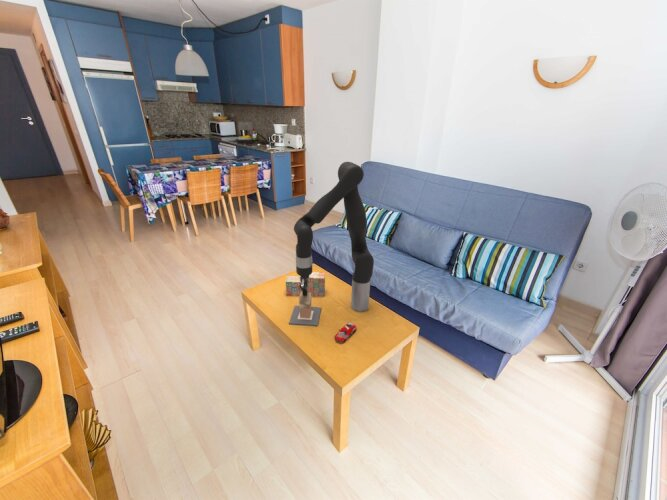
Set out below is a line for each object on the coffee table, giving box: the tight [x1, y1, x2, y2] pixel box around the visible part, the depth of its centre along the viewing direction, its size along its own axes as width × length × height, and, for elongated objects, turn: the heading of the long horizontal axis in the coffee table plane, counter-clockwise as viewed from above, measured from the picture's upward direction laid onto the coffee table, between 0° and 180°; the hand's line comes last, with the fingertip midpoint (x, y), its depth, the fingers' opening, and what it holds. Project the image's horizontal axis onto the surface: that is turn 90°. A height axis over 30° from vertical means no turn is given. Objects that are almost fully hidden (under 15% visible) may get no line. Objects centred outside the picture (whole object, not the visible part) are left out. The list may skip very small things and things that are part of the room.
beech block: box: [298, 292, 312, 309], centre depth 146 cm, size 5×5×6 cm
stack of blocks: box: [285, 271, 326, 298], centre depth 167 cm, size 21×6×12 cm, turn 89°
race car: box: [333, 322, 357, 344], centre depth 139 cm, size 13×5×4 cm, turn 141°
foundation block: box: [300, 304, 312, 318], centre depth 149 cm, size 5×5×6 cm
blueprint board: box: [288, 305, 322, 327], centre depth 151 cm, size 14×14×1 cm
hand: (305, 294), depth 145 cm, fingers closed
